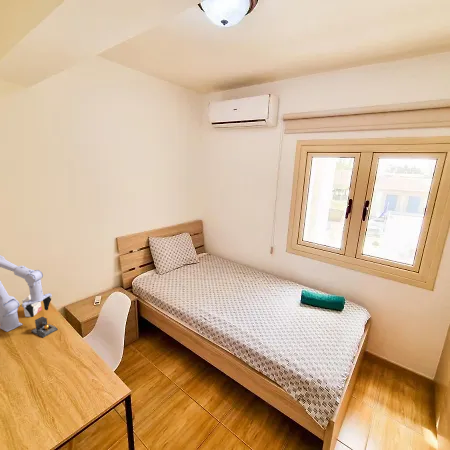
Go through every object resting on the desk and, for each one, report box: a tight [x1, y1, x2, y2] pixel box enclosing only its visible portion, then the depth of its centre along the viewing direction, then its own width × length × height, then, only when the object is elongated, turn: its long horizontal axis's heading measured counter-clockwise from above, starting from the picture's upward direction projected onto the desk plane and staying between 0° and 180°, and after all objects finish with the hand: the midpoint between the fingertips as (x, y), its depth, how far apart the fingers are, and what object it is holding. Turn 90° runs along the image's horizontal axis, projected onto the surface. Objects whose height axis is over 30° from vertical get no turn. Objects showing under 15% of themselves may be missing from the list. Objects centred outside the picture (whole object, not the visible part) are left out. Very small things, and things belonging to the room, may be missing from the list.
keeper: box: [30, 323, 59, 338], centre depth 143 cm, size 11×8×4 cm
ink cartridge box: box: [21, 294, 43, 318], centre depth 160 cm, size 9×5×15 cm, turn 179°
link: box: [34, 316, 57, 335], centre depth 142 cm, size 10×6×6 cm, turn 65°
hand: (39, 313), depth 144 cm, fingers open, 7 cm apart
